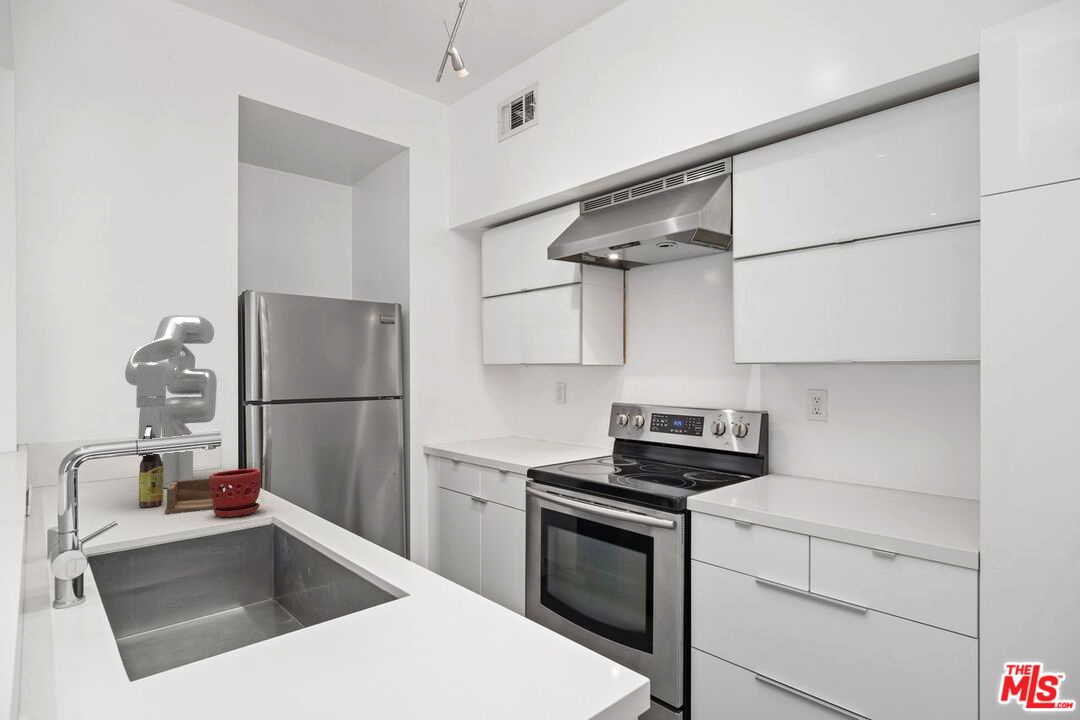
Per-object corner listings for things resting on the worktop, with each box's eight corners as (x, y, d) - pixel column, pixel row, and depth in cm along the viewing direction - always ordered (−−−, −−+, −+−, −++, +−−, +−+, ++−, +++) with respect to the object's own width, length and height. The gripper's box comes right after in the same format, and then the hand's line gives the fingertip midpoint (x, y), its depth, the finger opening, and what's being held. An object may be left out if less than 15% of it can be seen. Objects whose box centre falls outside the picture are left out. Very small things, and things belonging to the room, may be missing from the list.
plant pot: (265, 506, 175) (264, 466, 175) (255, 517, 162) (255, 474, 162) (216, 510, 171) (216, 469, 172) (203, 521, 159) (203, 476, 159)
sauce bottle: (154, 508, 174) (154, 441, 175) (133, 508, 174) (133, 441, 175) (168, 503, 181) (168, 439, 181) (148, 503, 181) (148, 439, 181)
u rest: (170, 504, 179) (170, 481, 179) (222, 499, 185) (222, 477, 186) (164, 514, 167) (164, 489, 167) (220, 508, 173) (220, 484, 173)
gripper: (140, 401, 184) (140, 456, 184) (131, 404, 169) (131, 464, 168) (169, 400, 188) (169, 455, 187) (162, 403, 172) (162, 462, 172)
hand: (151, 459), depth 178 cm, fingers open, 8 cm apart
